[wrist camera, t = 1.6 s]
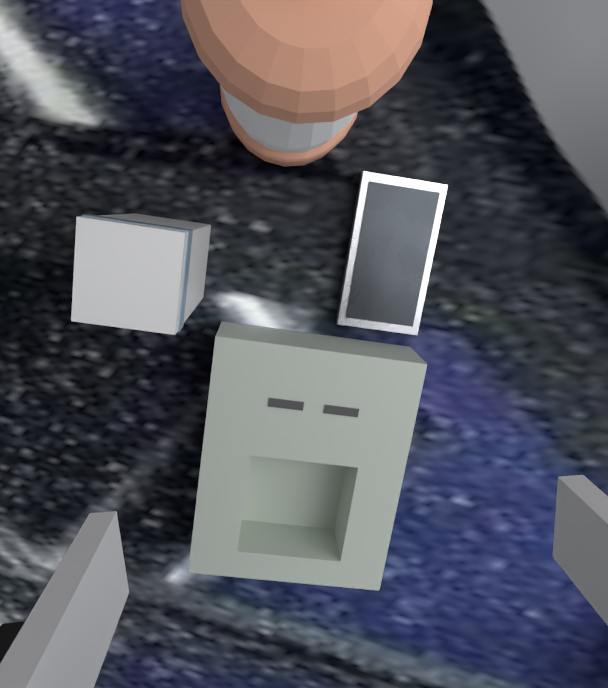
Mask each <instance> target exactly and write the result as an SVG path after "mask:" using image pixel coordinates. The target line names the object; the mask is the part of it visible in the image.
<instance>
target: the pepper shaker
mask: <svg viewBox="0 0 608 688" xmlns="http://www.w3.org/2000/svg"><path fill="white" fill-rule="evenodd" d="M432 3H433V0H181V7H182V17H183V19H184V22H185V24H186V27H187V29H188V32H189V34H190V37H191V39H192V41H193V44H194V46H195V49H196V51H197V54H198V56H199V58H200V60H201V61H202V62H203V63H204V65H205V66H206V67H207V68H208V70H209V71H210V72H211V73H212V75H213V76H214V77H215V78H216V80H217V81H218V82H219V83H220V92H221V102H222V106H223V108H224V111H225V113H226V116H227V118H228V120H229V123H230V125H231V127H232V129H233V131H234V133H235V135H236V136H237V137H238V138H239V140H240V141H241V142H242V143H243V144H244V146H245V147H246V148H247V149H248V150H249V151H250V152H252V153H253V154H255V155H256V156H258V157H259V158H261V159H262V160H264V161H266V162H269V163H273V164H277V165H281V166H299V165H305V164H308V163H310V162H313V161H315V160H318V159H320V158H322V157H323V156H324V155H326V154H327V153H328V152H329V151H330V150H331V149H332V148H334V147H335V146H336V145H337V144H338V143H339V142H340V141H341V140H342V139H343V138H344V137H345V136H346V134H347V132H348V131H349V129H350V127H351V126H352V124H353V123H354V121H355V119H356V117H357V113H358V111H361V110H363V109H365V108H368V107H370V106H371V105H372V104H373V103H374V102H375V101H376V100H378V99H379V98H380V97H381V96H382V95H383V94H385V93H386V92H387V91H388V90H389V89H390V88H391V87H393V86H394V85H395V84H396V83H397V82H398V81H399V80H400V79H401V77H402V75H403V74H404V72H405V70H406V69H407V67H408V66H409V64H410V62H411V61H412V59H413V57H414V56H415V54H416V53H417V51H418V49H419V48H420V46H421V43H422V40H423V36H424V32H425V29H426V25H427V22H428V18H429V14H430V11H431V7H432Z"/></svg>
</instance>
